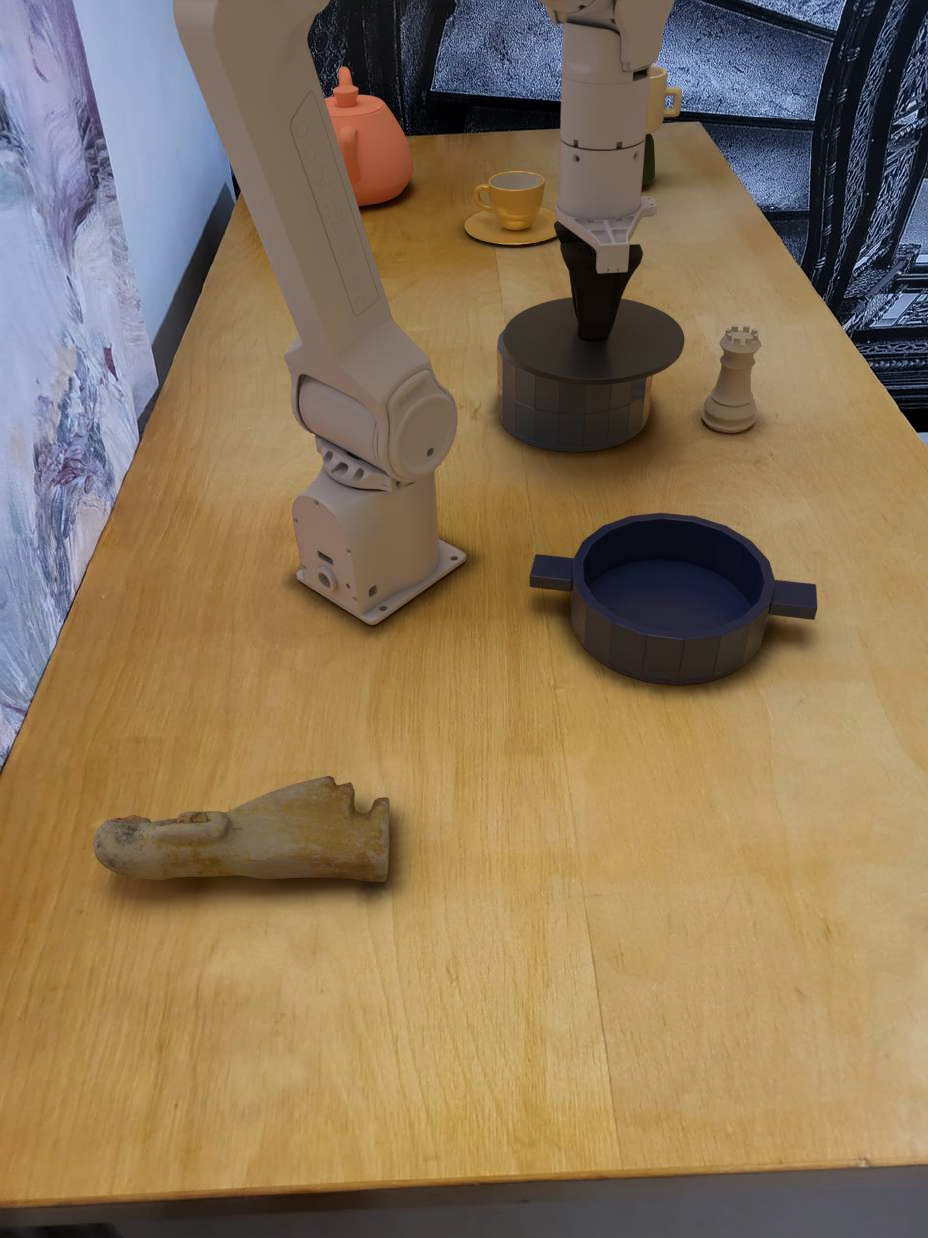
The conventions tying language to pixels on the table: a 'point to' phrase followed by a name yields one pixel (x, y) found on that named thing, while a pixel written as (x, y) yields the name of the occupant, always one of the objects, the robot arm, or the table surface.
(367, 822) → the figurine
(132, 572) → the table surface
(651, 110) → the character mug
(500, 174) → the cup
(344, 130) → the teapot
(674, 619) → the pan
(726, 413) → the rook chess piece
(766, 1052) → the table surface
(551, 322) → the lid
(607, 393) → the pot
